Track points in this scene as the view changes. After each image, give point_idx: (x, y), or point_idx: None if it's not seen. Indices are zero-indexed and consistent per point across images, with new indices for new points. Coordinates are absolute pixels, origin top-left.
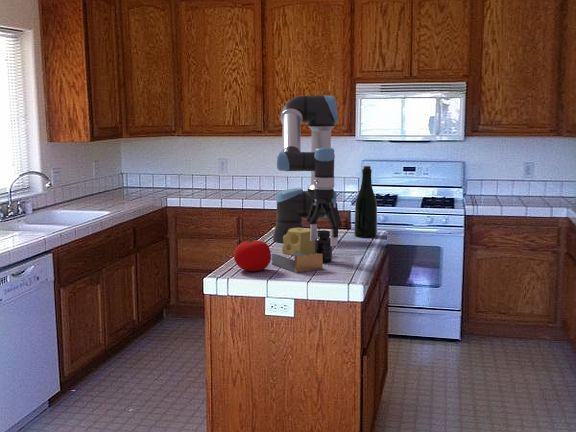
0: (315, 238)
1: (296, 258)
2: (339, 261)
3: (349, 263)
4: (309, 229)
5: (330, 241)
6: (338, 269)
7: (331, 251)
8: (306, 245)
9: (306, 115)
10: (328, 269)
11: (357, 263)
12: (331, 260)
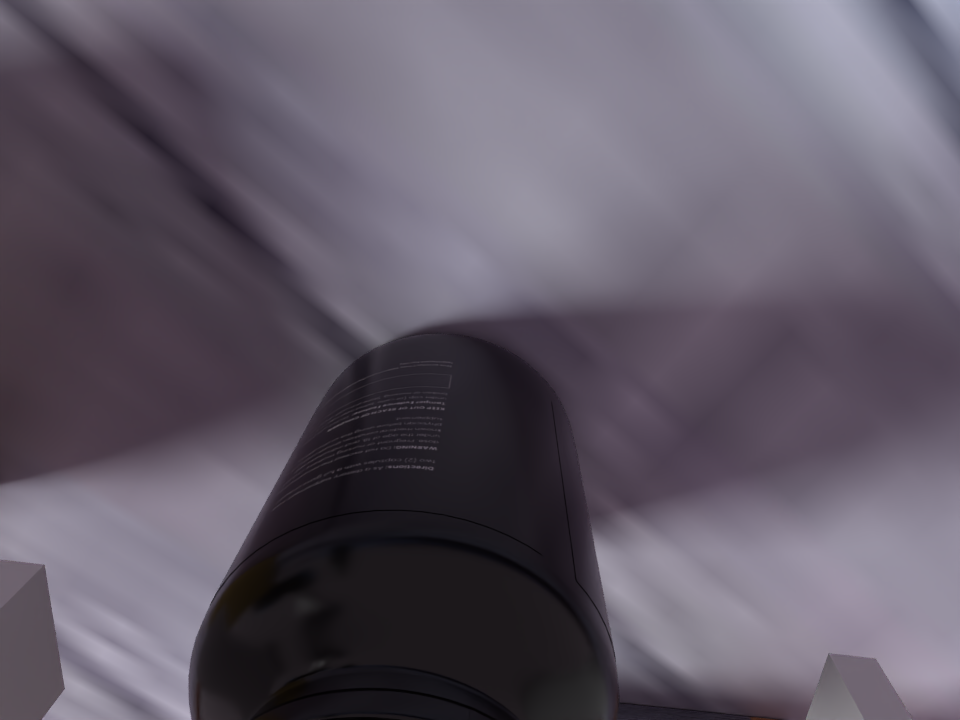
0: (18, 638)
1: None
2: (588, 251)
3: (809, 224)
4: None
5: (615, 684)
6: (934, 591)
7: (581, 494)
8: None
9: None
10: None
11: (915, 109)
12: (561, 405)
